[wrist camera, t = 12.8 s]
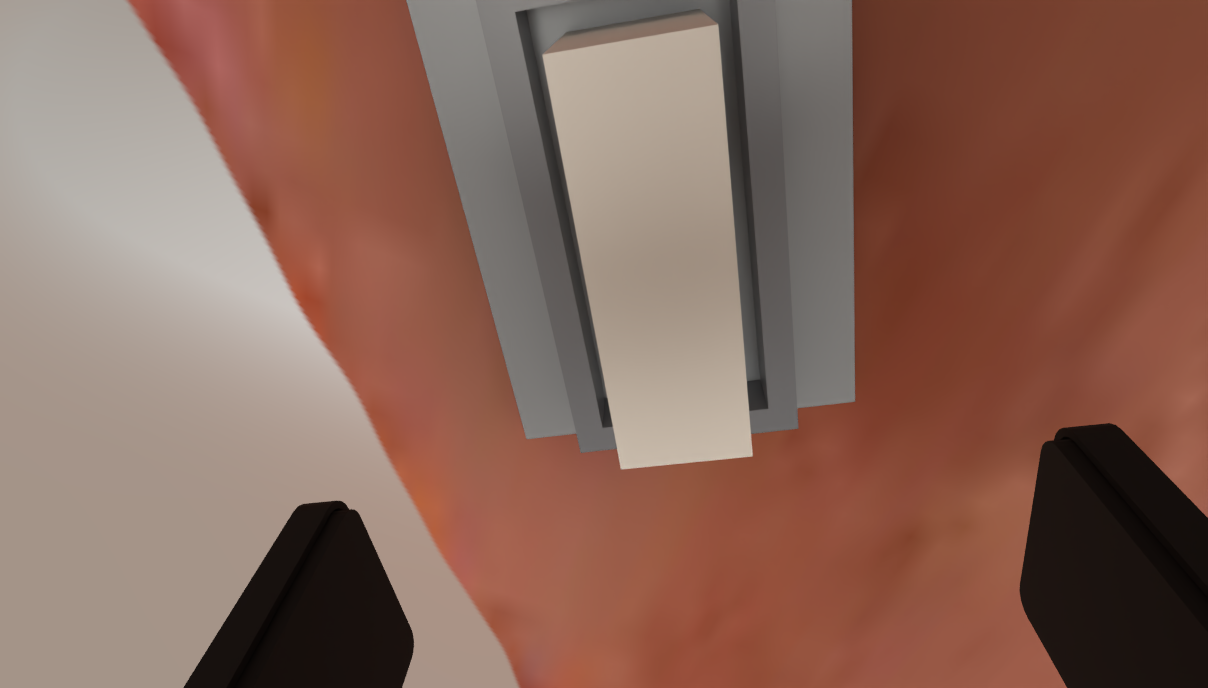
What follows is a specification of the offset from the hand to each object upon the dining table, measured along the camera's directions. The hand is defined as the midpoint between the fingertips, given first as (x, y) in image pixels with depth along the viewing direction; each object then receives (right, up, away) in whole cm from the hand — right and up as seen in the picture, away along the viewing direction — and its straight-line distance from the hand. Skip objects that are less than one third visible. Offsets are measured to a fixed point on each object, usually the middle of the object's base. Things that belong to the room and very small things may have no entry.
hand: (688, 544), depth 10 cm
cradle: (+1, +8, +15) cm, 17 cm away
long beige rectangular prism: (+1, +7, +14) cm, 16 cm away
